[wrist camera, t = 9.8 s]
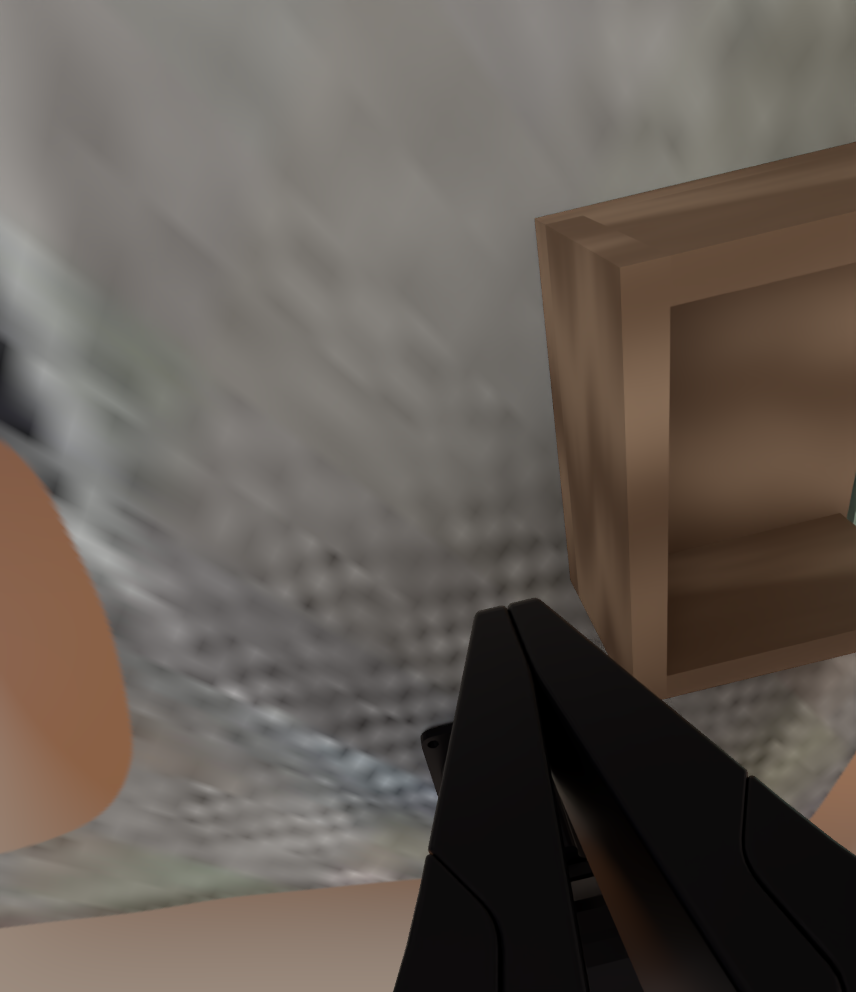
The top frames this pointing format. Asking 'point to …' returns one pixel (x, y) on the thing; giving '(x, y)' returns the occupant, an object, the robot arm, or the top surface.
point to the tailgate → (852, 505)
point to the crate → (710, 418)
